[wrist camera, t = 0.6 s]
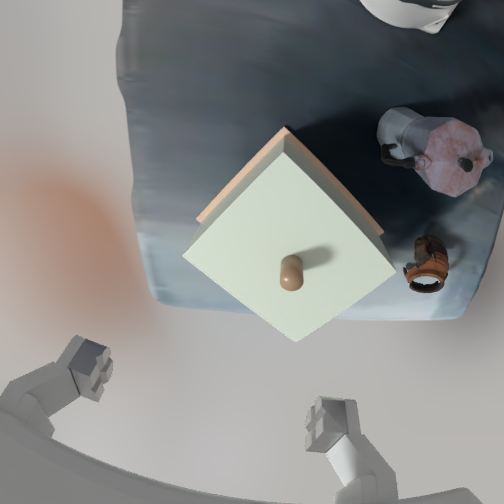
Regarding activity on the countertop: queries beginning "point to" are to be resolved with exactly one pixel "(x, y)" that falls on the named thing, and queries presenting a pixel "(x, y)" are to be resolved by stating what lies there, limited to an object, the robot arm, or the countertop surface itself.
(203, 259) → the sage cover
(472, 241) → the countertop surface
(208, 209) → the peach flat square panel
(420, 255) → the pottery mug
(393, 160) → the moka pot
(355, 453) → the robot arm
